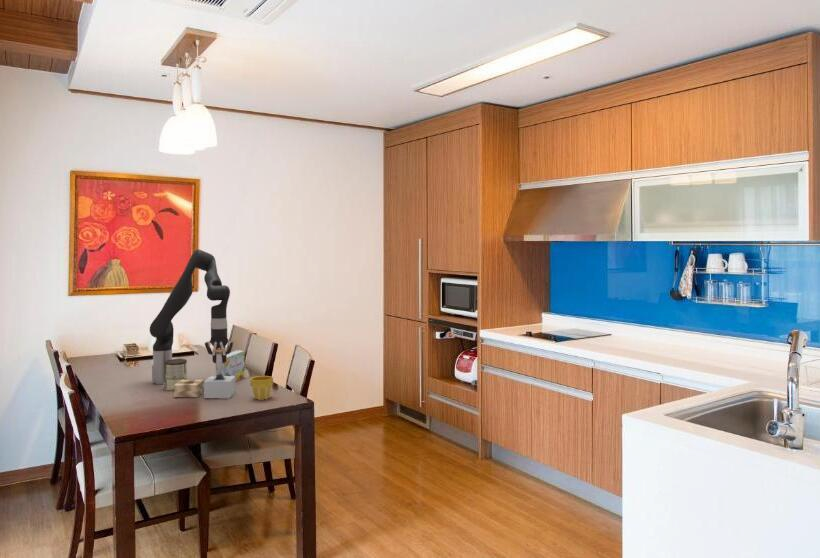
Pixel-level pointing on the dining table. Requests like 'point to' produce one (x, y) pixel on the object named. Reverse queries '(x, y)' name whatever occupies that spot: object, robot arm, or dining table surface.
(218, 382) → the socket
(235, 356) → the snack box
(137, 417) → the dining table surface
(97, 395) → the dining table surface
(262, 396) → the plant pot
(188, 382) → the mount
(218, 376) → the pin
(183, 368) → the coffee can
